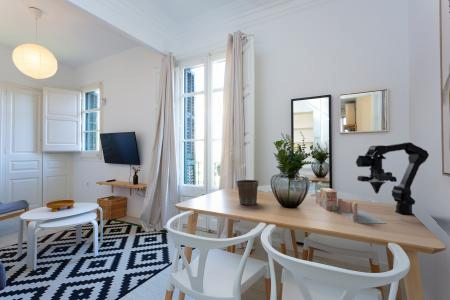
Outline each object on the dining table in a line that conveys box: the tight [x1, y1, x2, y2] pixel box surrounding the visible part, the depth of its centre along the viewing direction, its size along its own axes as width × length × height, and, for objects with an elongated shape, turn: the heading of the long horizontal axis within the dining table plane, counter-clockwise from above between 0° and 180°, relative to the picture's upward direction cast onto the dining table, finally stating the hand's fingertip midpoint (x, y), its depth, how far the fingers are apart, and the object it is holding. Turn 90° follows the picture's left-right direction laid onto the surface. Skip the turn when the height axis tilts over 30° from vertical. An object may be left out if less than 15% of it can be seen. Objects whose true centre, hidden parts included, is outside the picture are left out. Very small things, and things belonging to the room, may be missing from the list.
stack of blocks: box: [315, 187, 338, 212], centre depth 146 cm, size 21×6×12 cm, turn 174°
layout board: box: [337, 208, 387, 224], centre depth 124 cm, size 15×25×1 cm, turn 173°
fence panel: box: [352, 199, 358, 222], centre depth 120 cm, size 16×3×9 cm, turn 150°
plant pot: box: [236, 179, 260, 206], centre depth 157 cm, size 16×16×16 cm
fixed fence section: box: [337, 198, 353, 213], centre depth 133 cm, size 9×2×7 cm, turn 18°
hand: (376, 193), depth 127 cm, fingers closed
